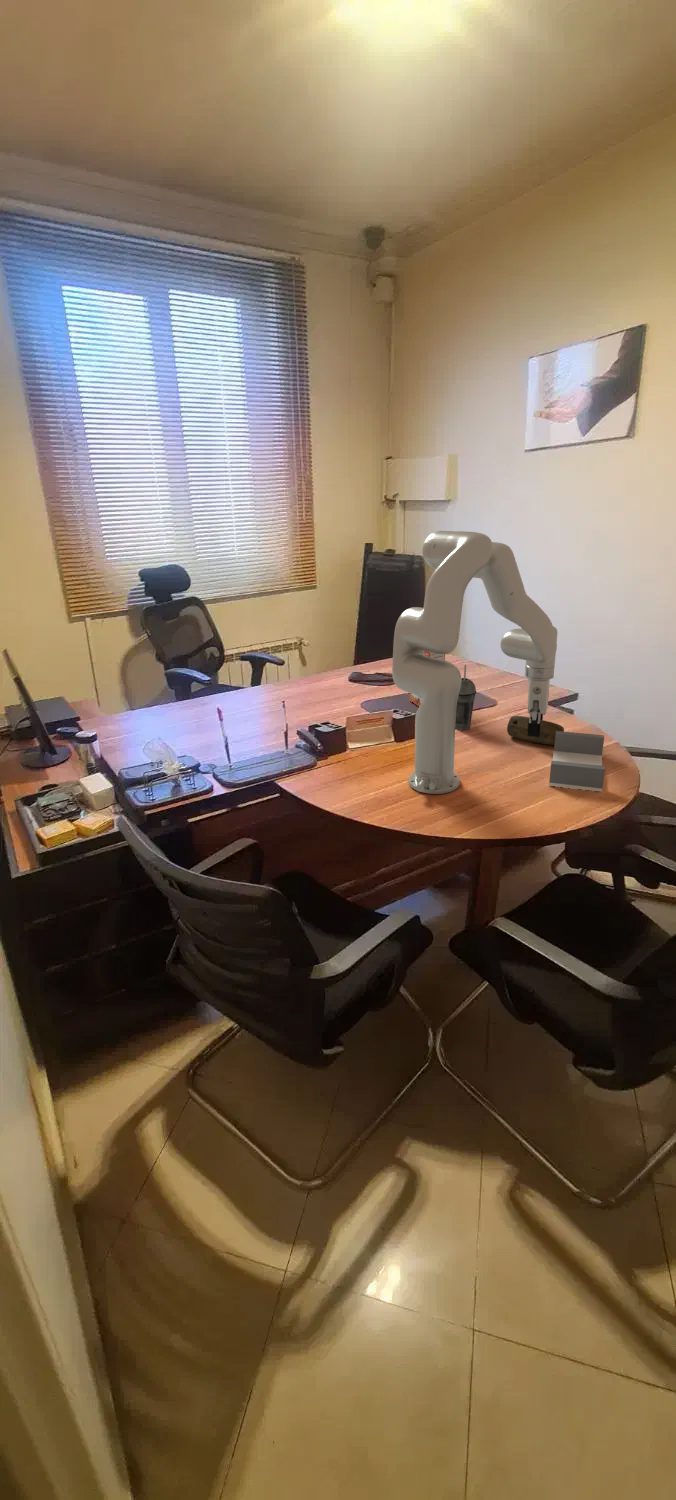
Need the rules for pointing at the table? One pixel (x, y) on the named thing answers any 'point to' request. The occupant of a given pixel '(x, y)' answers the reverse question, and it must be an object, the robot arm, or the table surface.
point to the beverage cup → (465, 703)
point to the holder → (577, 761)
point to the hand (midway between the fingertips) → (534, 729)
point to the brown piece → (520, 730)
